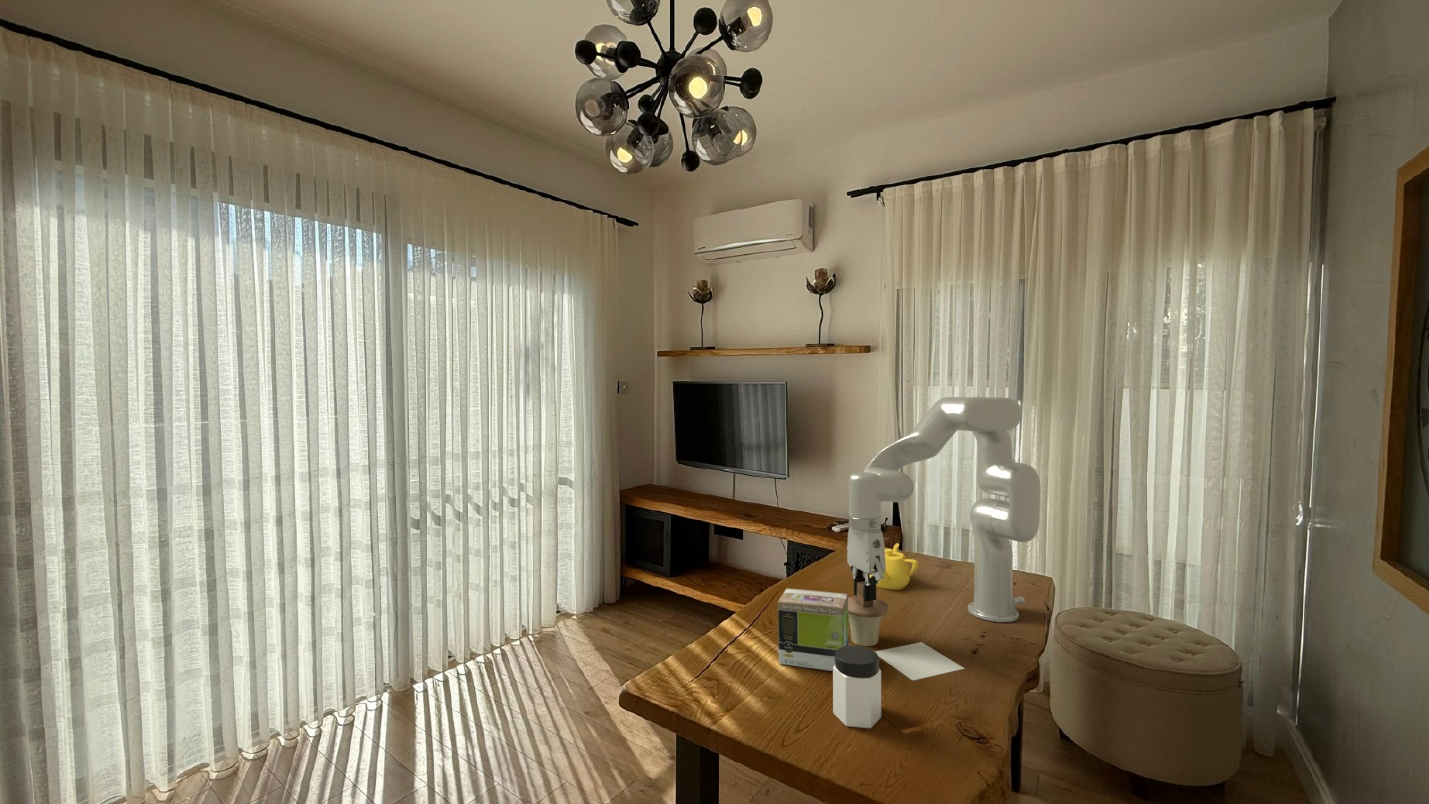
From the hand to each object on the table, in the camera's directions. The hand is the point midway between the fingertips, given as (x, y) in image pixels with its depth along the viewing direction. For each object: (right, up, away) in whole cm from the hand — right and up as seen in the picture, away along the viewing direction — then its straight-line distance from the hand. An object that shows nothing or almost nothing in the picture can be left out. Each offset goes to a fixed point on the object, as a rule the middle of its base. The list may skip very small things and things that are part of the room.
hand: (864, 596), depth 142 cm
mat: (+9, -12, -10) cm, 18 cm away
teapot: (+20, -10, +42) cm, 47 cm away
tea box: (-14, -12, -8) cm, 20 cm away
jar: (-10, -13, -31) cm, 35 cm away
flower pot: (0, -12, 0) cm, 12 cm away
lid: (0, -3, 0) cm, 3 cm away
